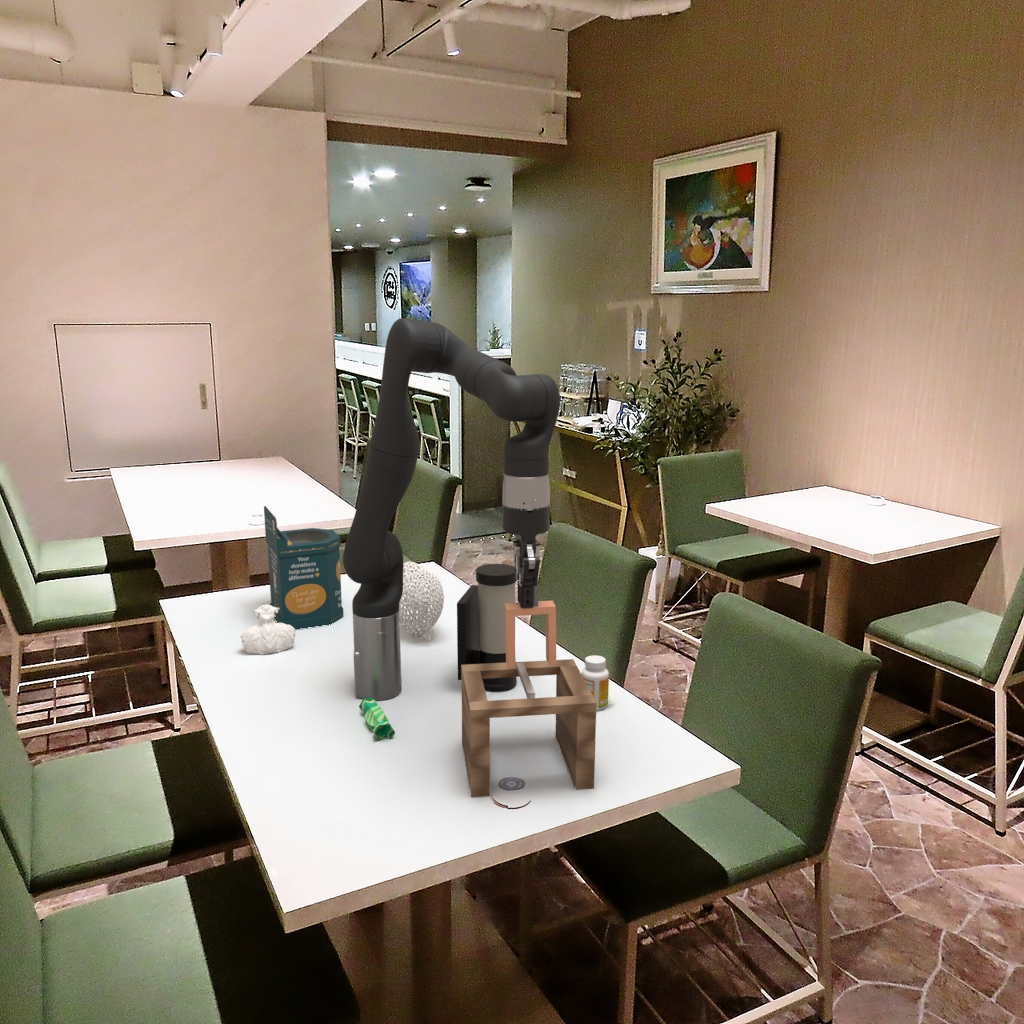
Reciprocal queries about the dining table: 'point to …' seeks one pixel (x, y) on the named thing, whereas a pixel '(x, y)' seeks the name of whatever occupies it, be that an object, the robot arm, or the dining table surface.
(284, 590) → the donation box
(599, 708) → the supplement bottle
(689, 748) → the dining table surface
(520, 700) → the wooden frame stand
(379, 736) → the candy
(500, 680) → the light fixture
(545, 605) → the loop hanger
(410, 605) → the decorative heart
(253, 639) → the bust
